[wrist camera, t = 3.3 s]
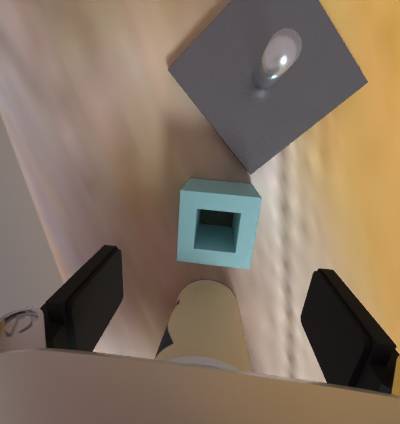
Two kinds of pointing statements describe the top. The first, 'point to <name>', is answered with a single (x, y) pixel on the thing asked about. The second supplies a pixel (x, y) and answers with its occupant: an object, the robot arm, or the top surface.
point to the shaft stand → (267, 74)
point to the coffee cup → (205, 329)
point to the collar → (212, 234)
